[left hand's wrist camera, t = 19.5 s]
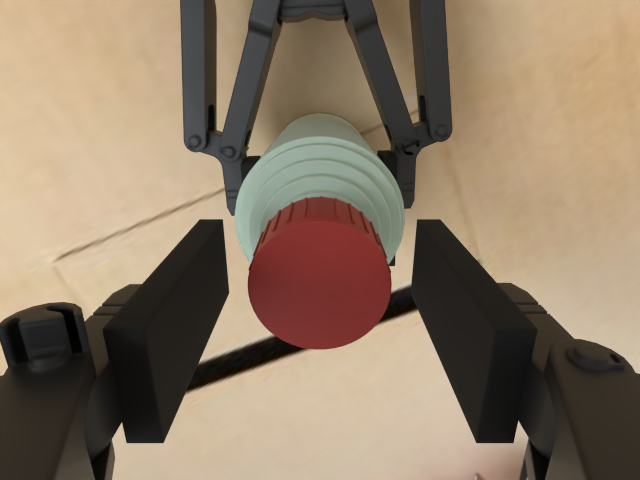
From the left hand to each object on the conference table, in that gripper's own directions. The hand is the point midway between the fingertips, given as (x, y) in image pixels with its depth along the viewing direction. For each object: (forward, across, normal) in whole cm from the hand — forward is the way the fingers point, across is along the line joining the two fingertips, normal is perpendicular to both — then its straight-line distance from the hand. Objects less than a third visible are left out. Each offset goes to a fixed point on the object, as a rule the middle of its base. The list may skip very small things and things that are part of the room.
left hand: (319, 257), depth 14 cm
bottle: (+18, 0, 0) cm, 18 cm away
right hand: (+11, 0, -5) cm, 12 cm away
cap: (-2, 0, 0) cm, 2 cm away
